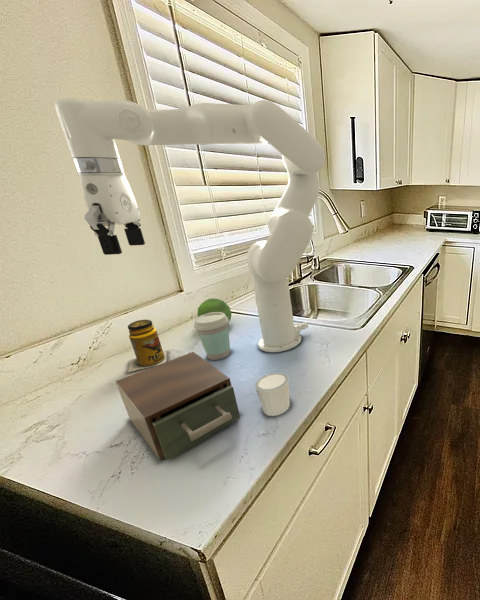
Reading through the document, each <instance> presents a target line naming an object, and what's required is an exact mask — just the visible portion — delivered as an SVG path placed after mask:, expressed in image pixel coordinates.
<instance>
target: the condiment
mask: <svg viewBox="0 0 480 600" xmlns="http://www.w3.org/2000/svg"><path fill="white" fill-rule="evenodd" d="M127 329H128V333H129V335H128V339H129V340H130V344H131V346H132V349H133V352H134V355H135V358H132V359H129V366H128V370H127V373H131V372H135V371H136V372H137V371H139V370H145V369H149V368H152V367H154V366H157V365H159V364H162V363H165V362H167V351H164V350H163V347H162V343H161V340H160V337H159V335H158V331H157V328H155V327H154V324H153V321H152V320H151V319H139V320H135V321H133V322H130V323H129V324H128V325H127Z"/></svg>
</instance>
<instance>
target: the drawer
mask: <svg viewBox="0 0 480 600" xmlns="http://www.w3.org/2000/svg"><path fill="white" fill-rule="evenodd" d="M231 385H232V384H231ZM231 385H230V386H227V387H225V388H224V387H223V385H222V386H220V387H218V388H216V389H214V390H212V391H210V392H208V393H205V394H203V395H201V396H199V397H197V398H195V399H193V400H191V401H189V402H187V403H185V404H183V405H180V406H178V407H176V408H174V409H172V410H170V411H168V412H166V413H164V414H162V415H160V416H157V417H155V418H153V419H152V421H153V423H152V424H153V426H154V429H155V432H156V435H157V437H158V440H159V443H160V446H161V449H162V451H163V454H164V457H165V458H164V459H165V460H166V461H169V460H170V459H172V458H174V457H175V456H177V455H179V454H181V453H182V452H184V451H186V450H188V449H189V448H191V447H193V446H195V445H196V444H199V443H200V442H202V441H204V440H205V439H207V438H209V437H210V436H212V435H214V434H216V433H218V432H220V431H221V430H223V429H224V428H227V427H228V426H230V425H232V424H233V423H235V422H236V421H238V420H240V419H241V415H240V411H239V407H238V403H237V399H236V394H235V391H234V390H235V389H234V387H233V386H231Z"/></svg>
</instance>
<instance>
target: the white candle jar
mask: <svg viewBox="0 0 480 600" xmlns="http://www.w3.org/2000/svg"><path fill="white" fill-rule="evenodd" d="M289 381H290V380H289V376H288V375H287V374H286V373H283V372H272V373H268V374H265V375H263V376H261V377H260V378H258V380H256V382H255V384H254V388H255V390H256V391H255V392H256V393H257V397H258V400H259V402H260V406H261V408H262V412H263V413H264V415H266V416H268V417H275V416H279V415H282V414H284V413H285V412H287V411H288V410H289V408H290V405H291V404H290V383H289Z"/></svg>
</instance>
